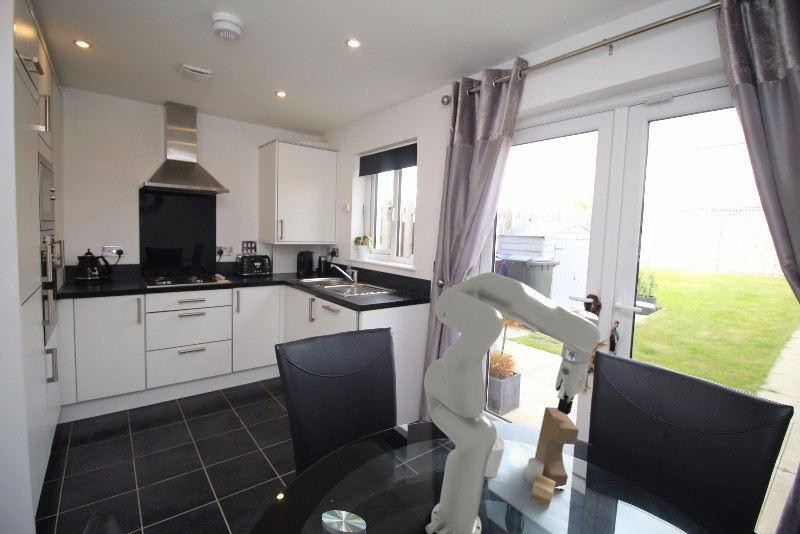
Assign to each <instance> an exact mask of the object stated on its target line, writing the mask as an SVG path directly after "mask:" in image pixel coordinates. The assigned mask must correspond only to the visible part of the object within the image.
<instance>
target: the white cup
mask: <svg viewBox="0 0 800 534" xmlns="http://www.w3.org/2000/svg"><path fill="white" fill-rule="evenodd" d="M505 448H506V441H505V440H504V439H503V438H502V437H501V435H498V434H497V437H496V441H495V444H494V446H493V448H492V451H491V453H490V456H489V459H488V462H487V466H486V471H485V476H484V478H485V477H486V478H494V477H497V475H498V473H499V469H500V466H501V463H502V461H503V460H502V459H503V456H504V452H505Z"/></svg>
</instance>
